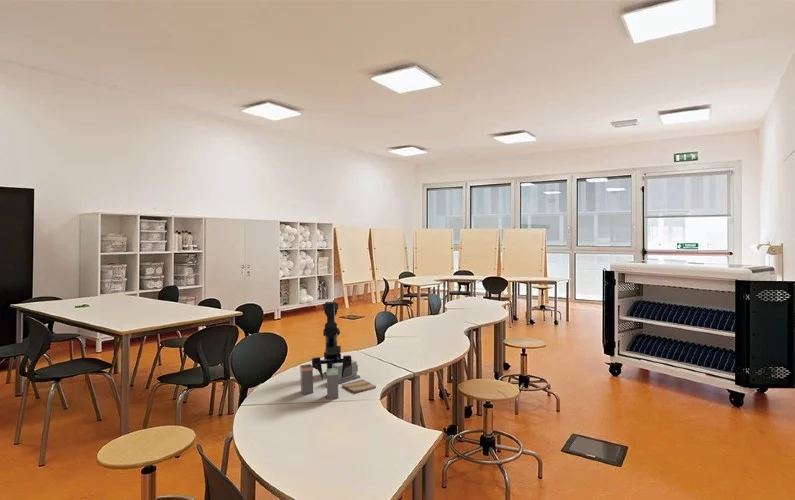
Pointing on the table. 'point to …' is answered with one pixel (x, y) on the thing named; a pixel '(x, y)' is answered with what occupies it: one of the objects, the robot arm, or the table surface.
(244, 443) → the table surface
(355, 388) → the walnut pad
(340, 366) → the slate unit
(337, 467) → the table surface
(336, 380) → the block
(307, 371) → the block
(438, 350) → the table surface
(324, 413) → the table surface
